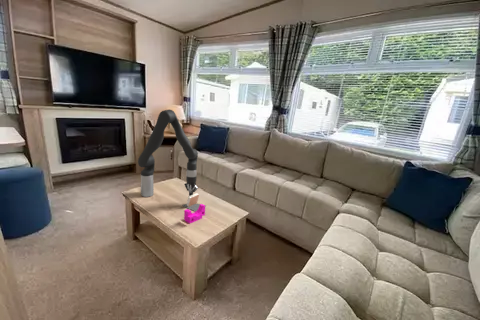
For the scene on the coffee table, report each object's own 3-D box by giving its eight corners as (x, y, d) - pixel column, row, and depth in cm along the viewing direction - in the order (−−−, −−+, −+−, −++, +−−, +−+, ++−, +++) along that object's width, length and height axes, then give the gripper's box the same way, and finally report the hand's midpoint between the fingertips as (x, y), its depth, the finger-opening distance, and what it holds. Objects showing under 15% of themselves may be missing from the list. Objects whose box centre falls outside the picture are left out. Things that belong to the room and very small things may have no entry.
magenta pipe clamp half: (189, 223, 141) (190, 213, 140) (184, 220, 145) (184, 210, 143) (207, 216, 153) (207, 206, 151) (201, 213, 157) (201, 203, 155)
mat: (182, 205, 165) (182, 205, 165) (193, 201, 175) (193, 200, 175) (195, 211, 158) (195, 211, 158) (206, 206, 168) (206, 205, 168)
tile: (186, 205, 164) (188, 196, 162) (194, 201, 172) (196, 193, 169) (188, 206, 163) (190, 198, 161) (196, 203, 171) (199, 194, 168)
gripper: (181, 174, 163) (181, 195, 167) (194, 178, 156) (193, 200, 160) (188, 172, 169) (188, 193, 173) (201, 176, 163) (200, 197, 167)
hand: (190, 196), depth 167 cm, fingers closed
